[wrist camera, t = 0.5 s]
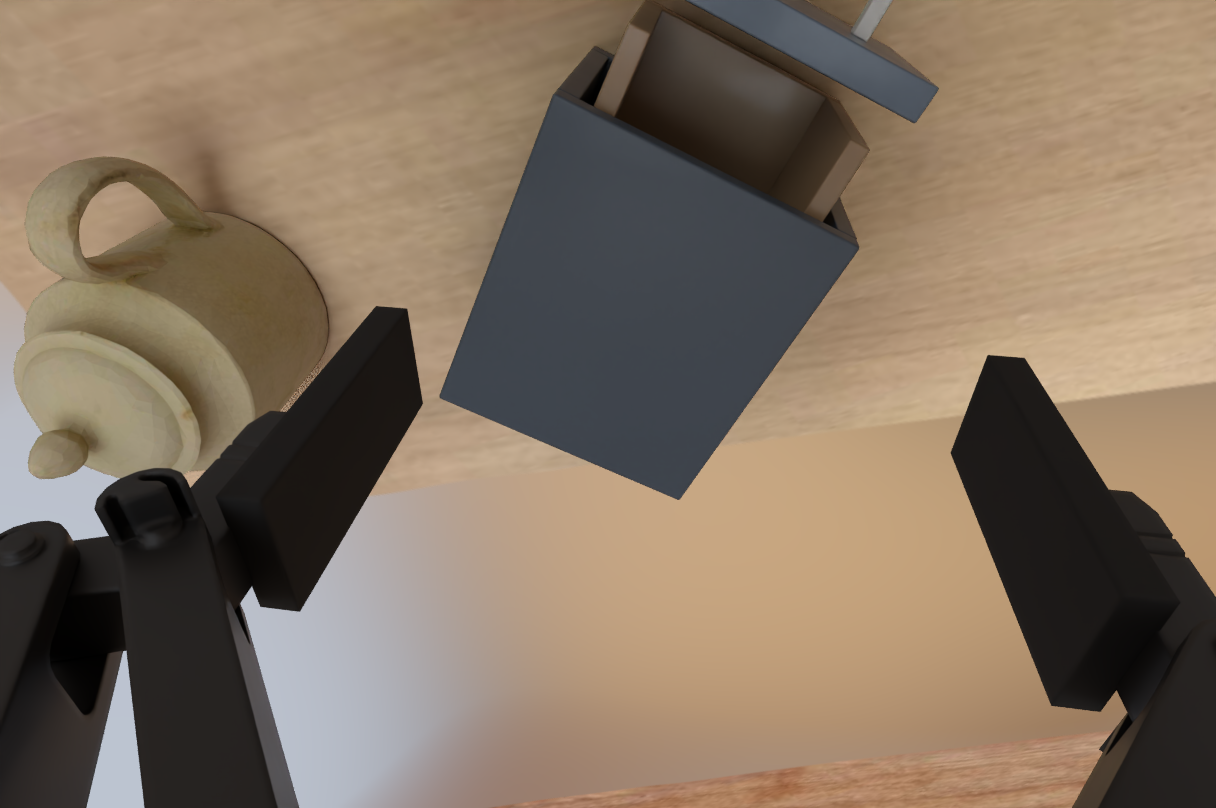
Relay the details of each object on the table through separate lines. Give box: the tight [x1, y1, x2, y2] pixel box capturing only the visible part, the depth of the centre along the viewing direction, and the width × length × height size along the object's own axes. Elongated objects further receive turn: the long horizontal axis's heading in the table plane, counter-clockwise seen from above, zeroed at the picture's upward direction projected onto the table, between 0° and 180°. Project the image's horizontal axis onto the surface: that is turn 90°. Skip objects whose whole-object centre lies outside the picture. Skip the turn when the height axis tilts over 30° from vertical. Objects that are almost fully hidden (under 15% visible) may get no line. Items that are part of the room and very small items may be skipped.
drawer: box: [594, 0, 939, 222], centre depth 27 cm, size 17×10×8 cm, turn 156°
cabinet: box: [440, 46, 859, 500], centre depth 32 cm, size 14×12×10 cm
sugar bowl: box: [14, 157, 328, 479], centre depth 34 cm, size 15×11×15 cm
